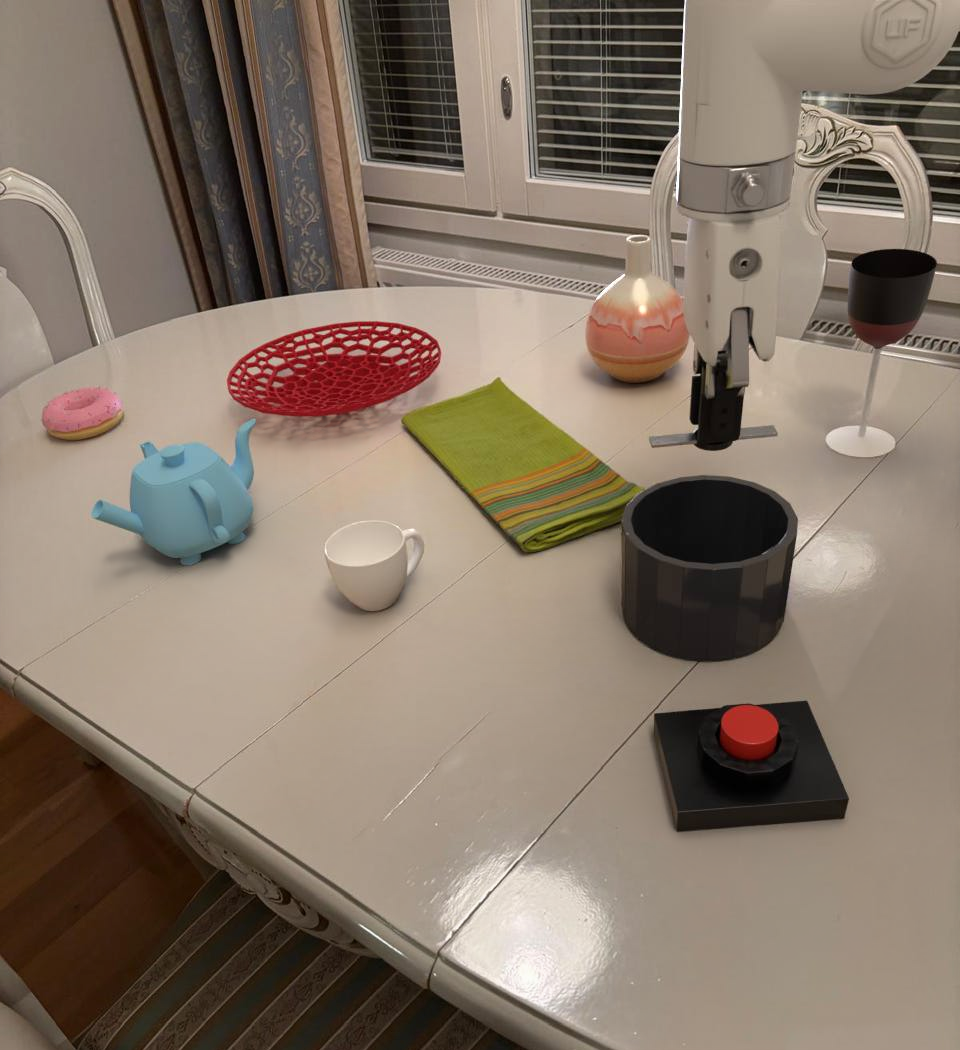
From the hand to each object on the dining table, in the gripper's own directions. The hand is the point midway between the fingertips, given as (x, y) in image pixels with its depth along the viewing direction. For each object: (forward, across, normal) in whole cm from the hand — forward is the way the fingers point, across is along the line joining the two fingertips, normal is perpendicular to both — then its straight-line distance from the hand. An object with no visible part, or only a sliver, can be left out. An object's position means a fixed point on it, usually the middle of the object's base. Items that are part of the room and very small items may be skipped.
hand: (713, 429), depth 73 cm
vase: (+19, +52, -2) cm, 55 cm away
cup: (+19, +7, +30) cm, 36 cm away
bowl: (+19, +54, +39) cm, 69 cm away
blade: (+1, 0, 0) cm, 1 cm away
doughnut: (+19, +53, +75) cm, 94 cm away
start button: (+15, -20, +1) cm, 25 cm away
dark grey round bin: (+18, 0, 0) cm, 18 cm away
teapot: (+19, +21, +52) cm, 59 cm away
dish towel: (+19, +30, +16) cm, 39 cm away
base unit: (+18, -20, +1) cm, 27 cm away
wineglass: (+18, +28, -24) cm, 41 cm away
